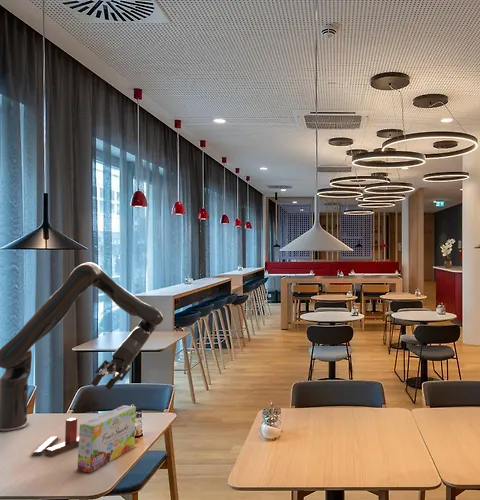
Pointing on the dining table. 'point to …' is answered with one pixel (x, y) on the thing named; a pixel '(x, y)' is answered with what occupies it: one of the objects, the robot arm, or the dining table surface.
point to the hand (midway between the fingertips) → (100, 386)
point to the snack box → (106, 438)
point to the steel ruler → (45, 446)
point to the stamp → (66, 439)
